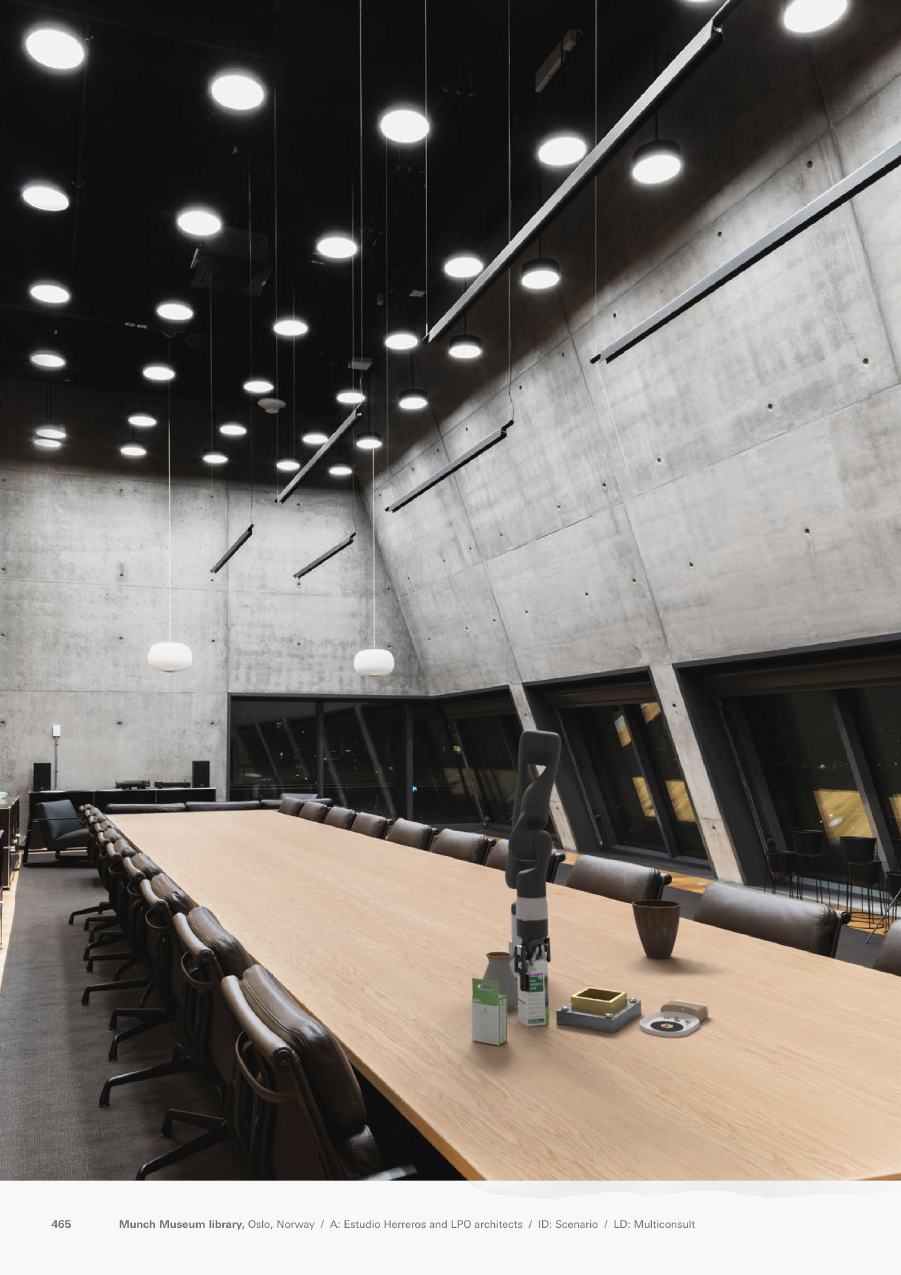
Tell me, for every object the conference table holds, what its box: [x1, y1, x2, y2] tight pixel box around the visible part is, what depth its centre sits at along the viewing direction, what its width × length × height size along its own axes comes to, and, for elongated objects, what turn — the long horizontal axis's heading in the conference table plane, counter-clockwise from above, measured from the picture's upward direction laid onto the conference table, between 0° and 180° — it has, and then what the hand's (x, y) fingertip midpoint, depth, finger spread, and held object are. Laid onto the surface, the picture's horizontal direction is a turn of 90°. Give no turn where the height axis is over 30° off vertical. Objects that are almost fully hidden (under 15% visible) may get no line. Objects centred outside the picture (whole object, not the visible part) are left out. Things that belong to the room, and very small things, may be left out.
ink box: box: [471, 977, 508, 1046], centre depth 193 cm, size 7×4×13 cm, turn 56°
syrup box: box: [516, 957, 550, 1028], centre depth 207 cm, size 6×6×14 cm
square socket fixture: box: [555, 986, 642, 1035], centre depth 209 cm, size 14×18×6 cm
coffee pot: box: [478, 943, 522, 1013], centre depth 223 cm, size 21×12×15 cm, turn 143°
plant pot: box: [631, 899, 682, 960], centre depth 273 cm, size 15×15×16 cm
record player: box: [639, 999, 710, 1038], centre depth 204 cm, size 12×3×20 cm
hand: (533, 987), depth 206 cm, fingers open, 8 cm apart
